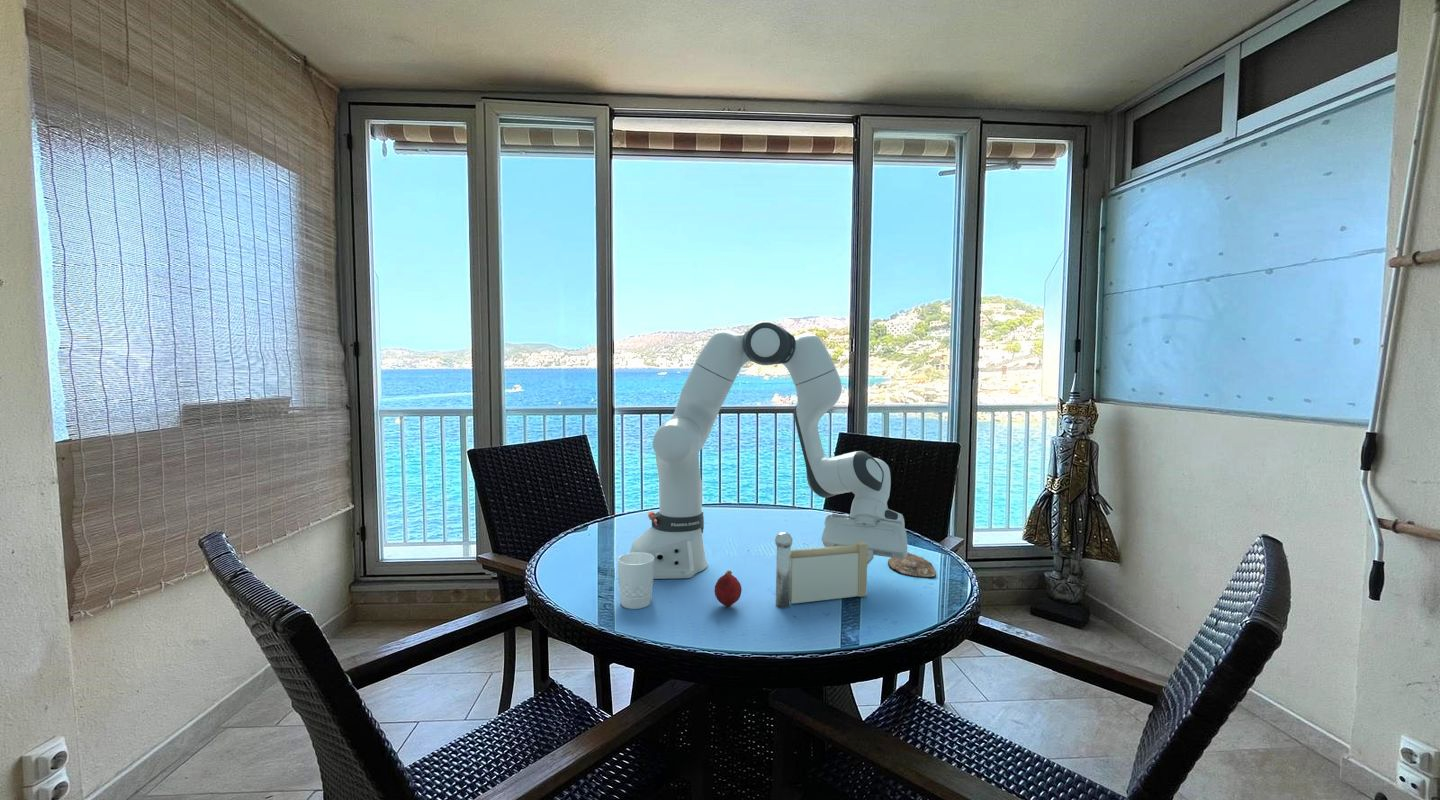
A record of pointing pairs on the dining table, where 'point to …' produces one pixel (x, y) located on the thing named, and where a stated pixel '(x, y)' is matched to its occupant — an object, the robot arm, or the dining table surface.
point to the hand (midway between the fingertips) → (859, 568)
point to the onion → (727, 589)
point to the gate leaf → (828, 573)
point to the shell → (912, 566)
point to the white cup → (636, 579)
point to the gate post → (783, 569)
